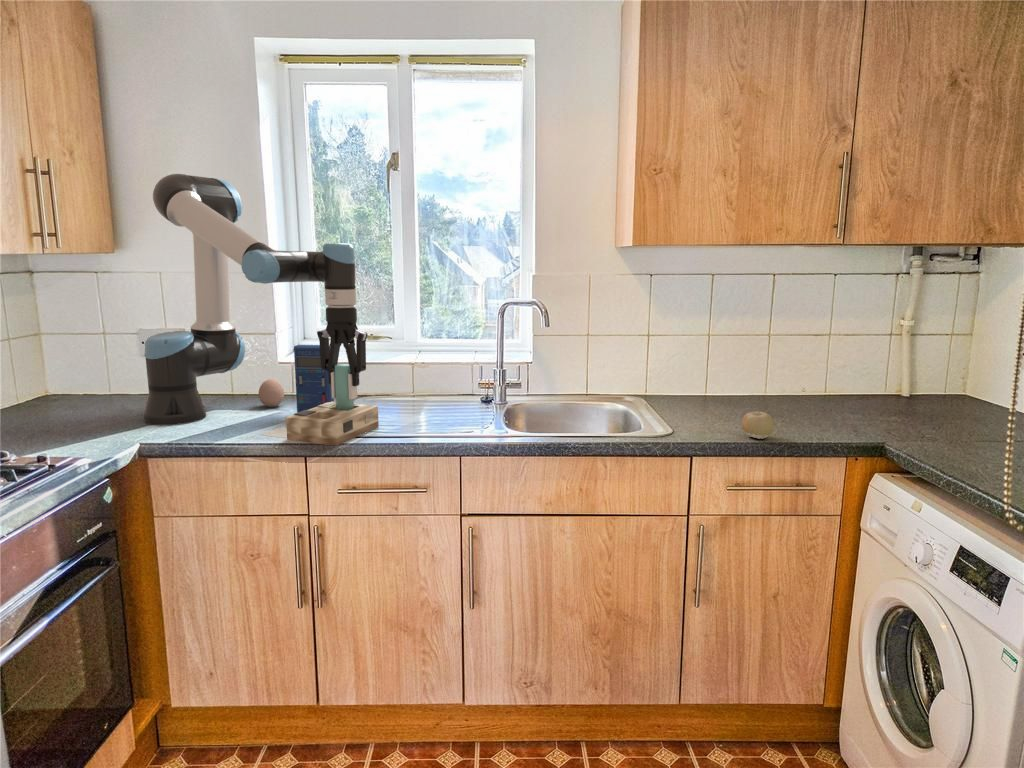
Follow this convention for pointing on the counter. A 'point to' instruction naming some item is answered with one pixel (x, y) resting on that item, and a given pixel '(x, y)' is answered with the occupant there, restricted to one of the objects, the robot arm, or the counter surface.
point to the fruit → (757, 423)
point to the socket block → (331, 424)
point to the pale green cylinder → (342, 388)
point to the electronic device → (310, 378)
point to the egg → (271, 393)
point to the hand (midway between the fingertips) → (344, 397)
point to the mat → (277, 433)
